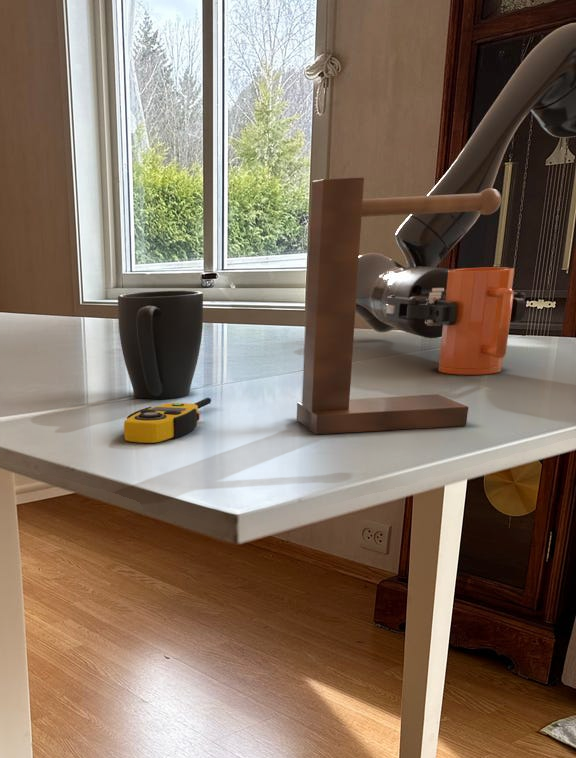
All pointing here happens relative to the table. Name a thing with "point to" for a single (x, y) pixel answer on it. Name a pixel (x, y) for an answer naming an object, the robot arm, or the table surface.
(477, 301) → the cup
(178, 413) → the yellow walkie talkie
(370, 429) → the stand
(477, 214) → the robot arm
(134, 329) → the mug
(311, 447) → the table surface
